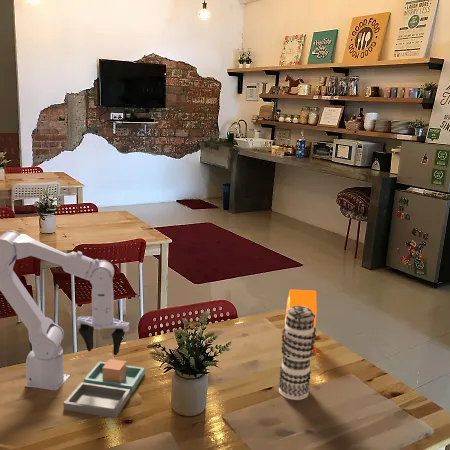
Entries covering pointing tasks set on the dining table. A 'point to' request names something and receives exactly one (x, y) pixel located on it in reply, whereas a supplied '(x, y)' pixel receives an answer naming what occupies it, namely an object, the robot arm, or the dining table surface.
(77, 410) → the grey bin
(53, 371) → the robot arm
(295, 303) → the orange juice
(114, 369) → the terracotta block
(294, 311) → the decorative candle
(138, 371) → the teal bin
